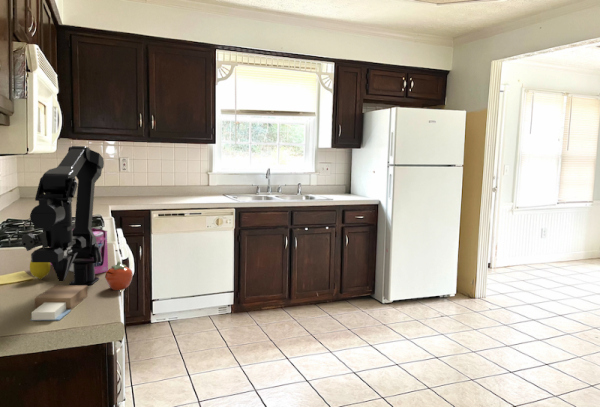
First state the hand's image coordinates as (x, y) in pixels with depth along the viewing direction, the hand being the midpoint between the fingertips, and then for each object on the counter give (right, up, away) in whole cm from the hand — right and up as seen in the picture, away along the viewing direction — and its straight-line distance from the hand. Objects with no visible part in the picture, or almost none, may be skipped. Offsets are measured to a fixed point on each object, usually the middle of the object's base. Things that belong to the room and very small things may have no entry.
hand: (61, 281), depth 119 cm
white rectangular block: (+2, -7, -9) cm, 11 cm away
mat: (+2, -7, -9) cm, 11 cm away
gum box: (-12, -2, +34) cm, 37 cm away
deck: (0, -6, 0) cm, 6 cm away
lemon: (-17, -3, +20) cm, 27 cm away
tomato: (+10, -5, +14) cm, 17 cm away
